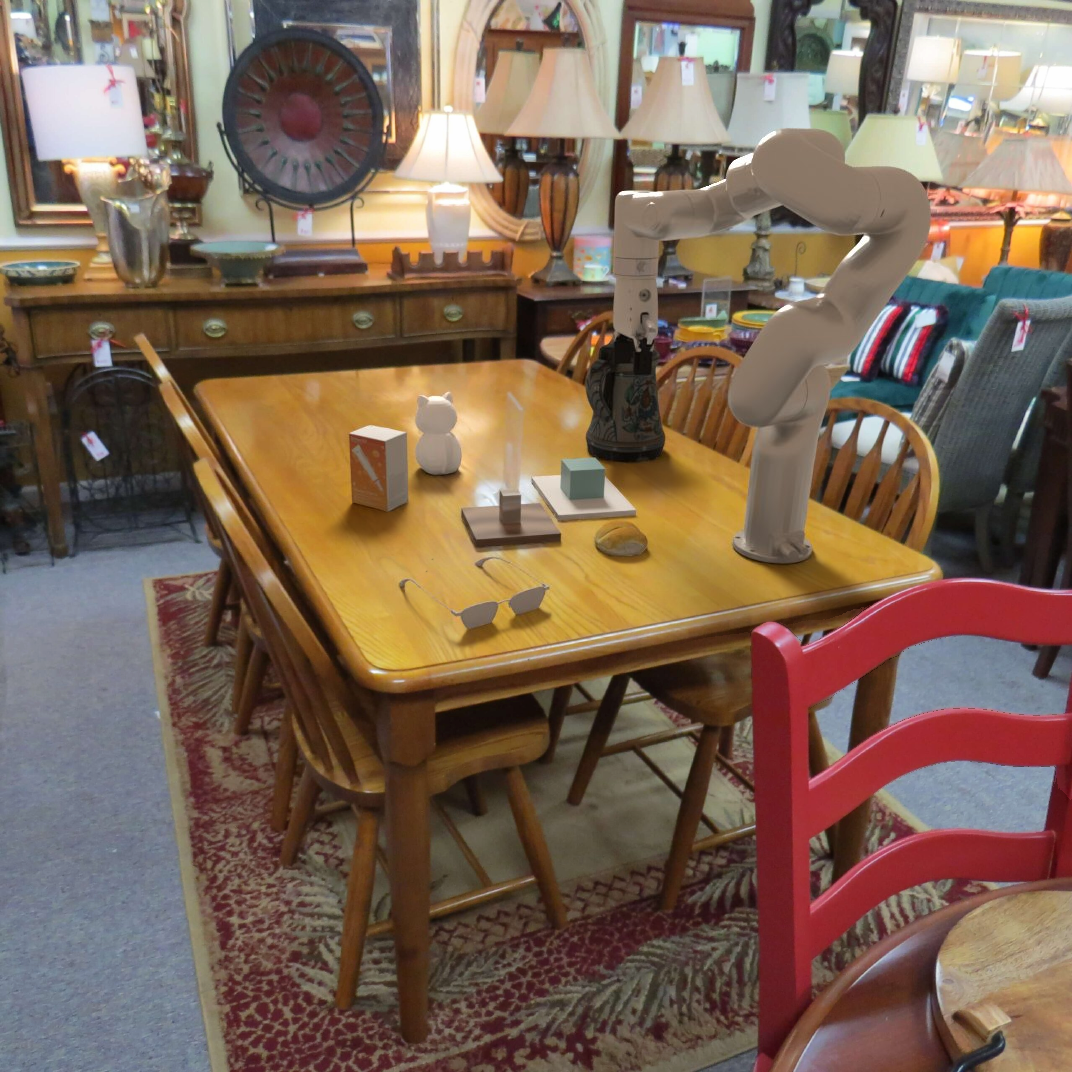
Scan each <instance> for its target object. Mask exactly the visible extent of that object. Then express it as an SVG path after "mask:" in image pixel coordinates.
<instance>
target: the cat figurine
mask: <svg viewBox="0 0 1072 1072" xmlns="http://www.w3.org/2000/svg"><path fill="white" fill-rule="evenodd" d="M416 402H417V409H416V411H415V418H414V420H415V421H414V423H415V425H416V428H417V430H419V431H420V432H421V433H422V435H421V436H420V437H419V439H418V440H417V443H416V445H415V450H414V451H415V452H414V454H415V459H416V462H417V465H418V466H419V467H420V468H421V469H422V470H423V471H424V472H426V473H428V474H430V475H432V476H433V475H434V476H438V475H440V476H441V475H448V474H454V473H455V472H457V471H458V470H459V468H460V466H461V464H462V460H463V459H462V457H463V456H462V455H463V454H462V446H461V443H460V440H459V439H458V437H457V435H455V434H454V433H453V432H452V430H453V429H454V428H455V426H456V424H457V422H458V421H457V420H458V414H457V410H456V408H455V406H454V405H453V402H454V400H453V395H452V393H451V392H450V391H447V392H446V393H444V394H443V395H442V396H439V395H432V396H429V397H427V396H425V395H423V394H418V396H417V401H416Z"/></svg>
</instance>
